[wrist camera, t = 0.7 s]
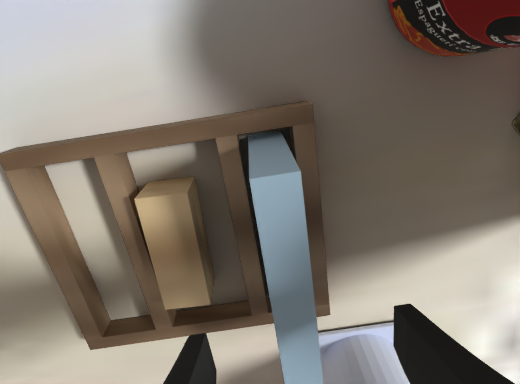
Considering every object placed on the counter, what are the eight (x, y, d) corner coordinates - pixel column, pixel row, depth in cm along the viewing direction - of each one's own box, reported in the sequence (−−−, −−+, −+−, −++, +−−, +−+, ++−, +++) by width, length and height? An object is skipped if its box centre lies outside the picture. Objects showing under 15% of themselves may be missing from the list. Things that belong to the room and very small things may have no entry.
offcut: (214, 276, 24) (210, 304, 21) (174, 280, 24) (165, 309, 21) (195, 175, 21) (187, 193, 18) (149, 180, 21) (134, 198, 18)
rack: (325, 299, 25) (330, 314, 23) (99, 332, 25) (90, 349, 23) (307, 101, 19) (312, 104, 17) (15, 147, 19) (-4, 154, 18)
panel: (299, 286, 24) (323, 385, 17) (273, 290, 24) (285, 390, 17) (280, 130, 20) (300, 171, 12) (248, 135, 20) (249, 179, 12)
